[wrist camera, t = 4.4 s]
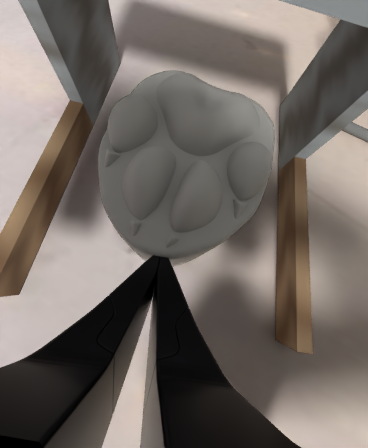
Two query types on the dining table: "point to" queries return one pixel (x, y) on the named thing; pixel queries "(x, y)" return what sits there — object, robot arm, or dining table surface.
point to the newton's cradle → (357, 131)
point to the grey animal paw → (183, 165)
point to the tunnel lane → (288, 137)
